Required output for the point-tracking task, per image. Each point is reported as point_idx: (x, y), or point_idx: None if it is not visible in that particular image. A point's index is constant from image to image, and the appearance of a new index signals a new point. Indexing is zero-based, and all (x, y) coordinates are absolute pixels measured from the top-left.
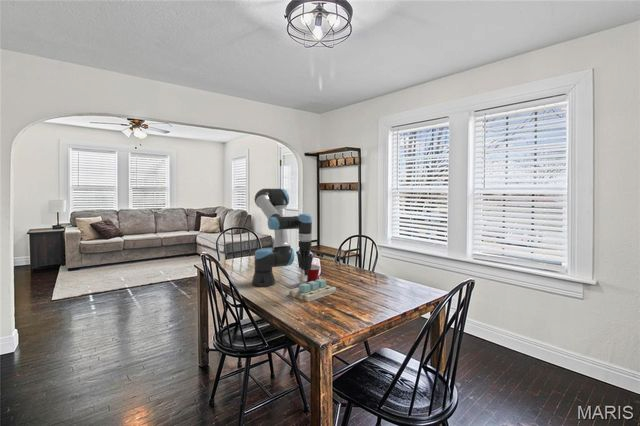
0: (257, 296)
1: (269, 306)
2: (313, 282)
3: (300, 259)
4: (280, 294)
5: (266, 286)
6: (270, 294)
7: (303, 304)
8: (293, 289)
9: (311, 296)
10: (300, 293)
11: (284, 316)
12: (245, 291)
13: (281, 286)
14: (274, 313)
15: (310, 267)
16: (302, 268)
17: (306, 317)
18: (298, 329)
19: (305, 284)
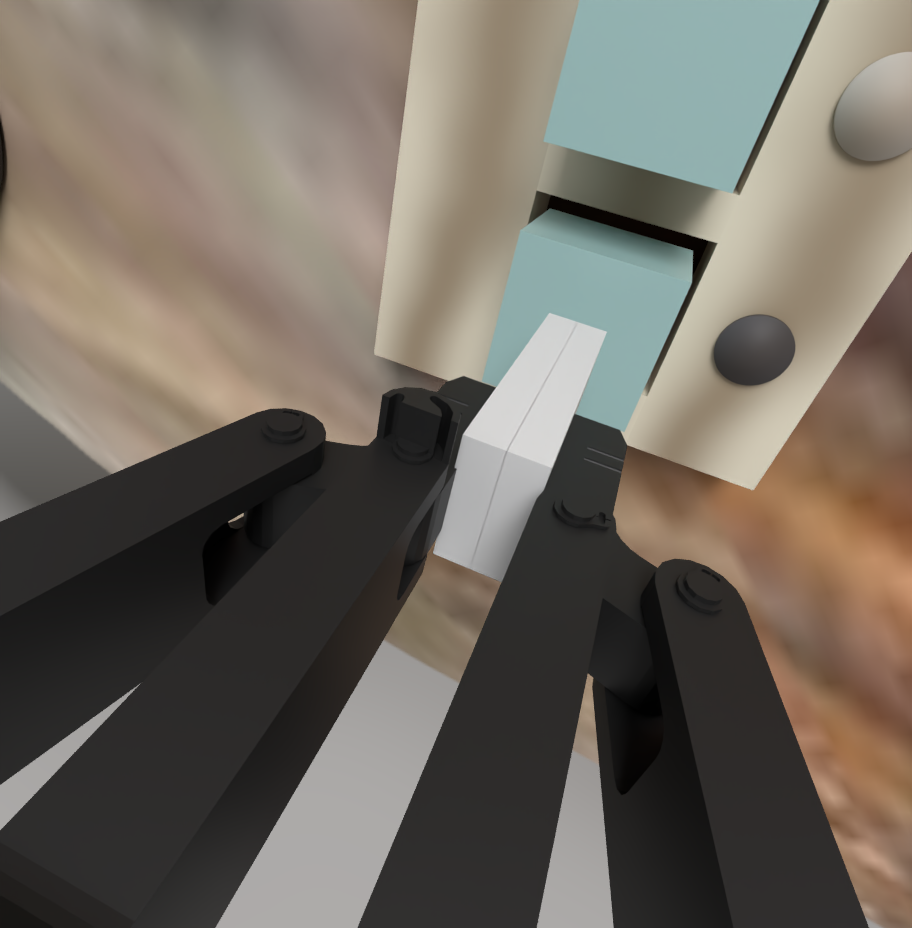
0: None
1: (448, 639)
2: (691, 45)
3: (19, 712)
4: (308, 345)
5: (1, 172)
6: (239, 389)
7: (720, 539)
8: (395, 290)
9: (788, 427)
10: None
11: None
12: (48, 405)
13: (73, 22)
14: None
15: (740, 661)
16: (416, 572)
17: (876, 787)
18: (874, 921)
19: (580, 312)
